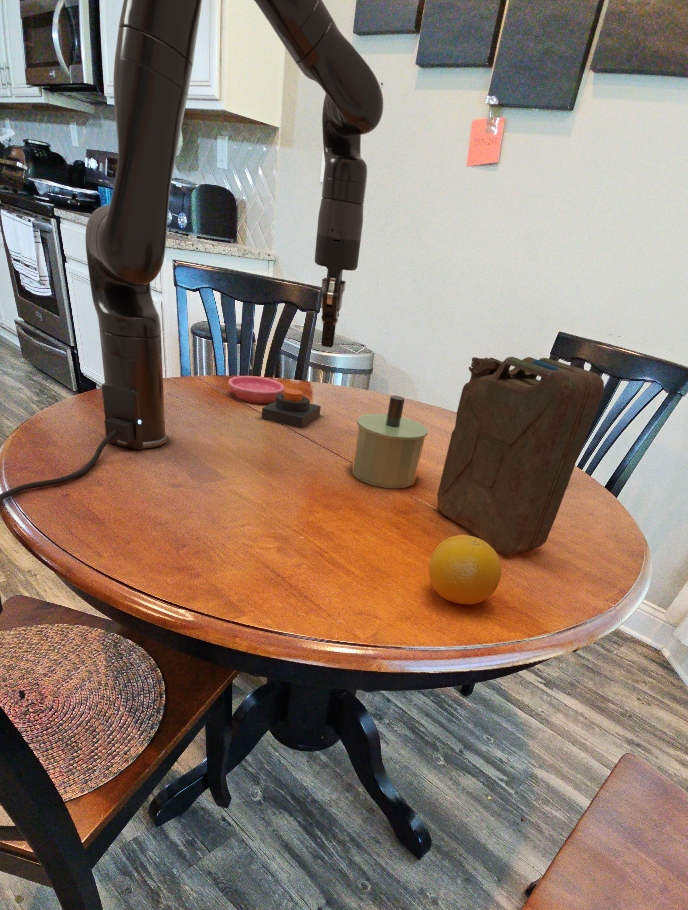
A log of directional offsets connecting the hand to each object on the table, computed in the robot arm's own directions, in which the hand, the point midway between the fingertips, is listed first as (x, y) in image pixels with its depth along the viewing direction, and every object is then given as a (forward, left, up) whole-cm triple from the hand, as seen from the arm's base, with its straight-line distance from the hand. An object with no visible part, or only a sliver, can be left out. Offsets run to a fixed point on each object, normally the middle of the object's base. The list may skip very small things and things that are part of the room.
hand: (327, 346), depth 109 cm
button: (+6, +8, -13) cm, 16 cm away
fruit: (-49, -37, -16) cm, 63 cm away
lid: (-14, -18, -8) cm, 24 cm away
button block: (+6, +8, -16) cm, 19 cm away
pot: (-14, -18, -16) cm, 28 cm away
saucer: (+14, +20, -16) cm, 30 cm away
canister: (-26, -38, -16) cm, 48 cm away
